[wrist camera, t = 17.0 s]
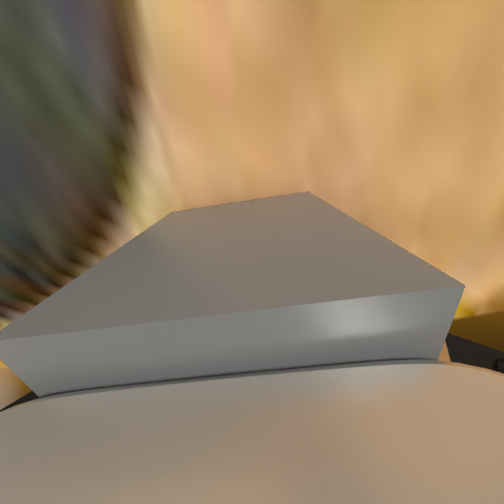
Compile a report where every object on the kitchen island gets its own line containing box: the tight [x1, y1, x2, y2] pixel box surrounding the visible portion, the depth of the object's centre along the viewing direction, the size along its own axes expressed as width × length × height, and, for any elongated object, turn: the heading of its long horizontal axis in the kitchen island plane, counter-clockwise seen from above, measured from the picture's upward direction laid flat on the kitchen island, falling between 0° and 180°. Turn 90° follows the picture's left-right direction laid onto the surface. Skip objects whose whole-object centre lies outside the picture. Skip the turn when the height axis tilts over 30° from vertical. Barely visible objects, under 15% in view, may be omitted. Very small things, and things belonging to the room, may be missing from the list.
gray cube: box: [0, 192, 465, 398], centre depth 9 cm, size 8×8×9 cm
